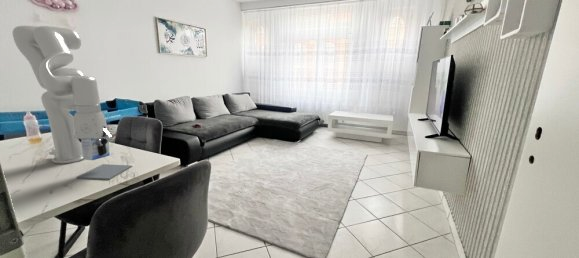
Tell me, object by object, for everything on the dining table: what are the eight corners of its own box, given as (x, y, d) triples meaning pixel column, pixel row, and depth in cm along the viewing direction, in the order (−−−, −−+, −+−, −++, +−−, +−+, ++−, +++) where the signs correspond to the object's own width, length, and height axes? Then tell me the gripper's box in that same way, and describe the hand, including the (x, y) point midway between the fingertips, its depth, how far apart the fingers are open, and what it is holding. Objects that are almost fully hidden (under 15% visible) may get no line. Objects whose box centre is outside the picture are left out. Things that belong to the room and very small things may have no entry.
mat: (76, 178, 94) (76, 176, 94) (103, 165, 107) (102, 164, 107) (109, 179, 94) (109, 178, 94) (132, 166, 107) (131, 165, 106)
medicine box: (92, 160, 95) (90, 138, 93) (82, 159, 95) (80, 137, 94) (110, 155, 102) (108, 135, 101) (100, 154, 103) (99, 134, 102)
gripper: (58, 110, 91) (67, 156, 95) (102, 111, 90) (109, 158, 95) (76, 107, 98) (84, 150, 103) (117, 108, 98) (123, 151, 102)
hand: (96, 153), depth 99 cm, fingers closed on medicine box, 4 cm apart
